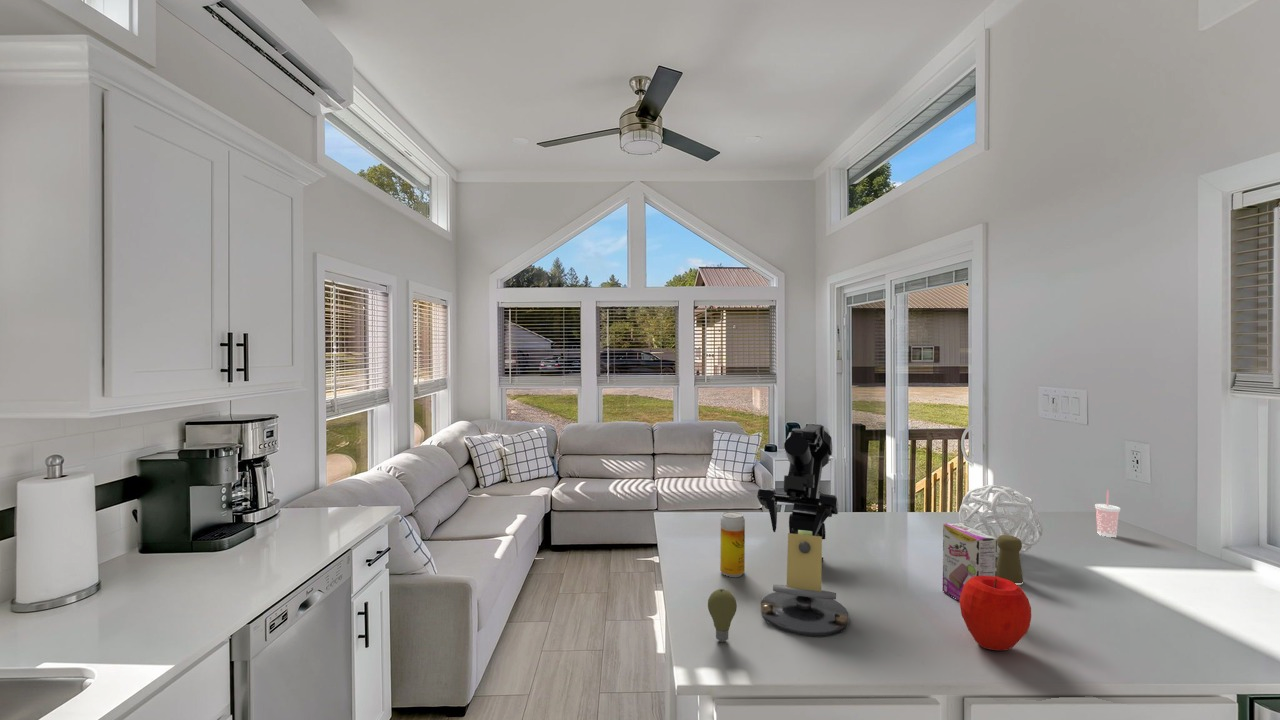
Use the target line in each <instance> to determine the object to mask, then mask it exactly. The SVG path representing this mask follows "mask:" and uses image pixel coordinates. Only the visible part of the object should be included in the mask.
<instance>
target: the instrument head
mask: <svg viewBox="0 0 1280 720" xmlns="http://www.w3.org/2000/svg"><path fill="white" fill-rule="evenodd" d="M822 545H823V539H822V537H820V536H812V531H805V530H798V534H791V533H790V532H789V533H787V558H786V559H787V561H786V562H787V565H786V585H785V584H773V585H772V591H773V592H779V593H784V594H790V595H797V596H804V597H812V598H821V599H833V600H837V593H836V592H834V591H830V590H825V589H822V571H823V570H822V569H823V568H822V567H823V566H822V561H823V560H822V556H823V554H822V553H823V552H822V550H823V546H822Z"/></svg>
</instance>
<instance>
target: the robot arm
mask: <svg viewBox="0 0 1280 720" xmlns="http://www.w3.org/2000/svg"><path fill="white" fill-rule="evenodd" d="M783 446H784V447H783V448H784V450H785V454H786V456H787V459H788V462H789V467H788V474H787V475H783V490H784V493H785V494H783V493H782V494H780V493H777V491H776V489H775V488H771V487H762V486H760V488H758V490H757V495H756V497H757V500H758V502H759V504H760V505H761V506H764V508H765V509H766V510H768V511H769V512H768V513H769V517H770V522H771V527H772V532H773V533H776V529H777V521H778V520H777V519H778V507H777V505H778V503H783V504H784V503H786V504H793V508H792V512H791V513H789V515H788V516H789V517H788V529H789V533H791V534H798V530H805V531H812V536H820V537H822V540H826V524H825V521H826V520H827V518H832V517H833V515H838V514H839V502H838V498H837V496H836V495H834V494H825V493H820V486H821V478H822V472H823V469H824V467H825V466H827V464H829V463H830V457H831V456H833V441H832V436H831V435H829V433H828V432H827V431H825V426H824V425H822V424H817V423H816V424H814V423H807V424H805V427H803V428H796V427H794V428H792V429H791V431H790V432H788V435H787V438H786V440H785V442H784V444H783ZM819 493H820V494H819ZM822 561H824V557H822Z"/></svg>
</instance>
